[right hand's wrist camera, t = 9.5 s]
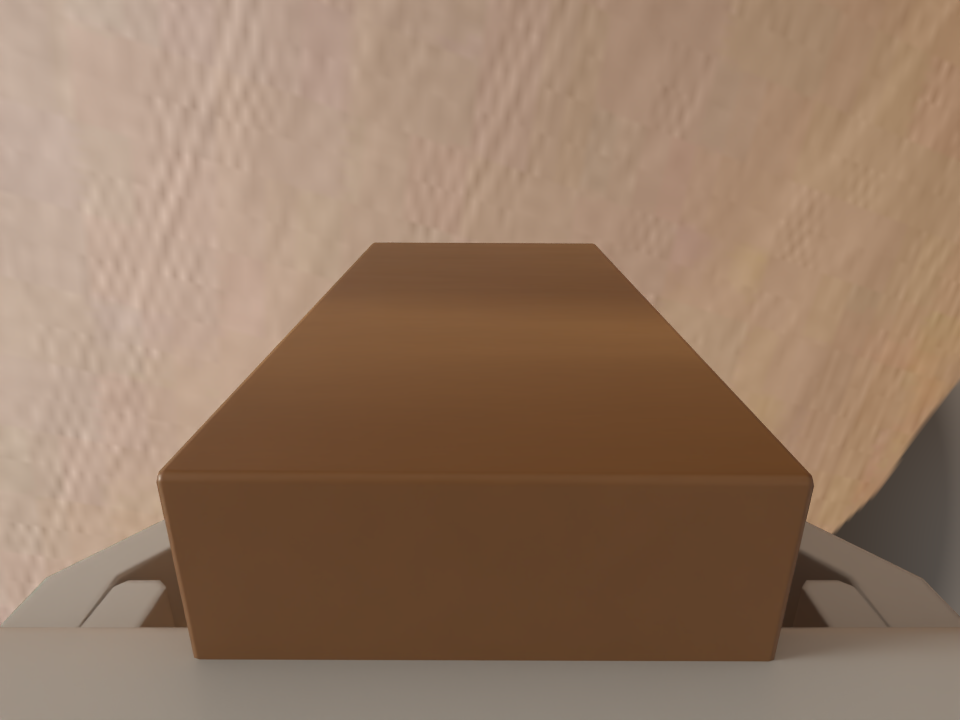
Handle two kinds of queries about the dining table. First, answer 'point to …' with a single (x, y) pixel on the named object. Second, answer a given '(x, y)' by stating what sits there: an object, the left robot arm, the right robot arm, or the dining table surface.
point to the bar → (484, 477)
